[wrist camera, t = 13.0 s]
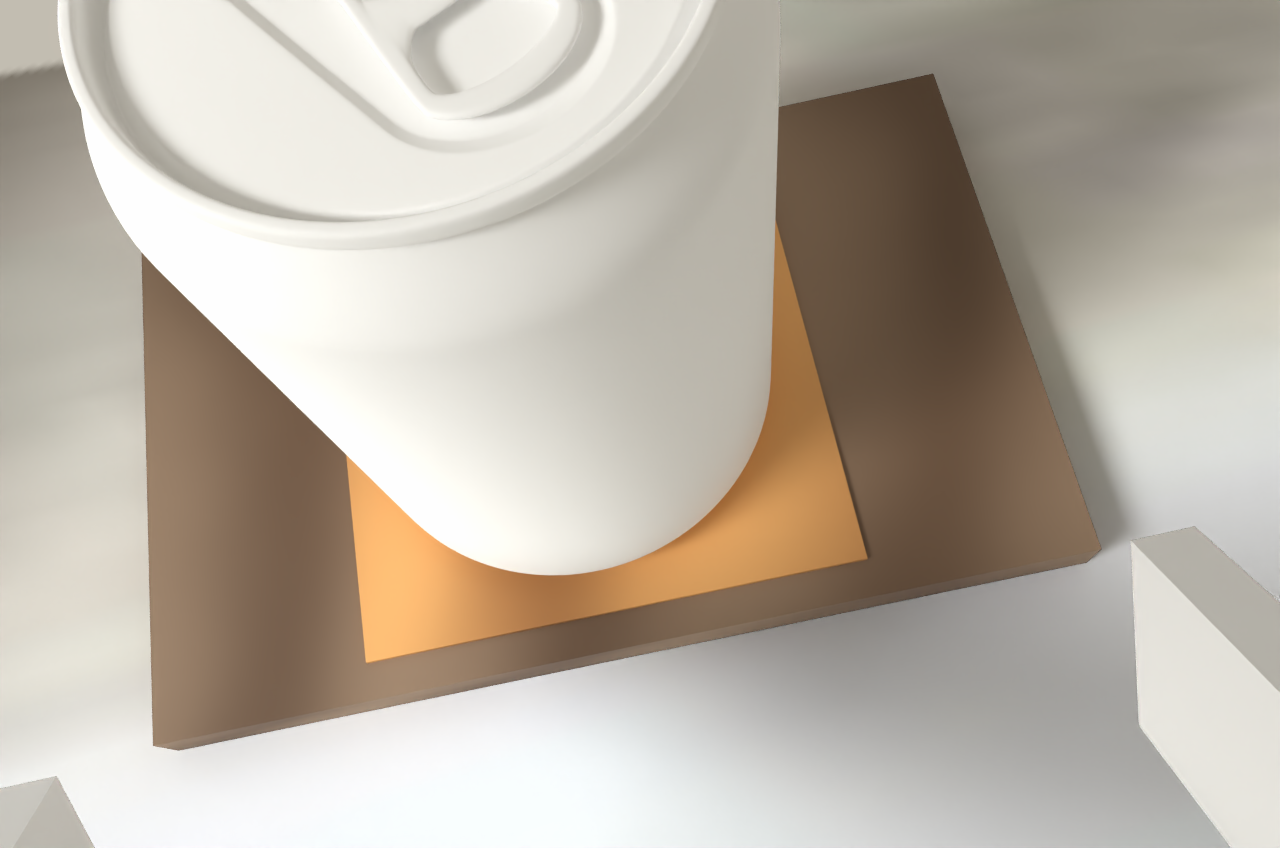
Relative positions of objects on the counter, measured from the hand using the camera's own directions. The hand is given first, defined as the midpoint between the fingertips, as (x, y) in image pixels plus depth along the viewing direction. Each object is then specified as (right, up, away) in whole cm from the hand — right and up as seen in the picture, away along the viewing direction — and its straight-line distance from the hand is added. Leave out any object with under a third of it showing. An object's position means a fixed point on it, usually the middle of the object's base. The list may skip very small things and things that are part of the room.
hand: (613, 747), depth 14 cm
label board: (-1, +4, +10) cm, 11 cm away
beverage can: (-1, +5, +9) cm, 10 cm away
